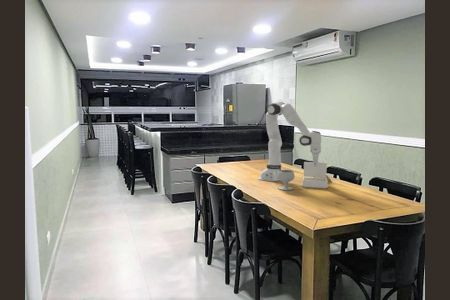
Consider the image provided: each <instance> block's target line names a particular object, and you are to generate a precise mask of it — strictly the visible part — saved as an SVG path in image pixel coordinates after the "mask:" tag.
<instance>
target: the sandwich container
mask: <svg viewBox="0 0 450 300" xmlns="http://www.w3.org/2000/svg"><path fill="white" fill-rule="evenodd" d="M312 178H325V177H312ZM326 178H327V181H328V182H332V181H331V180H332V179H331V178H330V177H329V176H328V175H327V174H326Z"/></svg>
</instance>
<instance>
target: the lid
mask: <svg viewBox="0 0 450 300" xmlns="http://www.w3.org/2000/svg"><path fill="white" fill-rule="evenodd" d="M327 167H328V163H327V162H317V163H316V166H314V162H313V161H312V162H311V161H309V162H308V161H304V162H303V177H311V178H313V177H325V178H326V175H327Z"/></svg>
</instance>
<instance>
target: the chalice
mask: <svg viewBox="0 0 450 300" xmlns="http://www.w3.org/2000/svg"><path fill="white" fill-rule="evenodd" d="M277 178H278V179H279V181H281V182H282V183H283V184H284V186H279V187H278V188H277V189H278V190H280V191H291V190H294V188H293V187H290V186H288V183H291V182H292V181H293V180H294V179H295V173H294V171H293V170H291V169H281V170H279V171H278V174H277Z"/></svg>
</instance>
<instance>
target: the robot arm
mask: <svg viewBox="0 0 450 300" xmlns="http://www.w3.org/2000/svg"><path fill="white" fill-rule="evenodd" d="M266 109H267V112H266V113H265V115H264V116H265V117H264V118H265V127H266V132H267V136H268V140H269V141H268V143H267V145H268V163H267V164H266V168H265V169H263V170H262V171H261V173H260V176H258V177H257V180H259V181H268V182H278V181H279V182H280V180H279V179H278V178H277V174H278V171H279V170H282V155H281V147H282V145H283V142H282V137H281V133H280V129H279V127H280V126H279V122H278V116H281V115H283V117H284V118H285V120H286V122H287V123H288V124H289V125H291V126H293V127H295V128H297V129H298V130H299V131H300V133H301V134H302V135H301V136H300V137H299V140H298V143H299V144H300V145H301V146H304V147H307V146H309V149H310V150H309V151H310V152H309V153H311V154H312V162H314V166H316V163H319V156H320V154H321V153H322V145H321V143H322V134H321V132H320V131H318V130H317V131H316V130H312V131H310V130H309V129H308V127H307V126H306V124H304V122H303V120H302V119H301V118H300V115H299V114H298V113H297V111H296V109H295V107H293V105H292V104H291V103H284V102H280V101H279V102H278V101H277V102H273V103H270V104H268V106H267V108H266Z"/></svg>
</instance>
